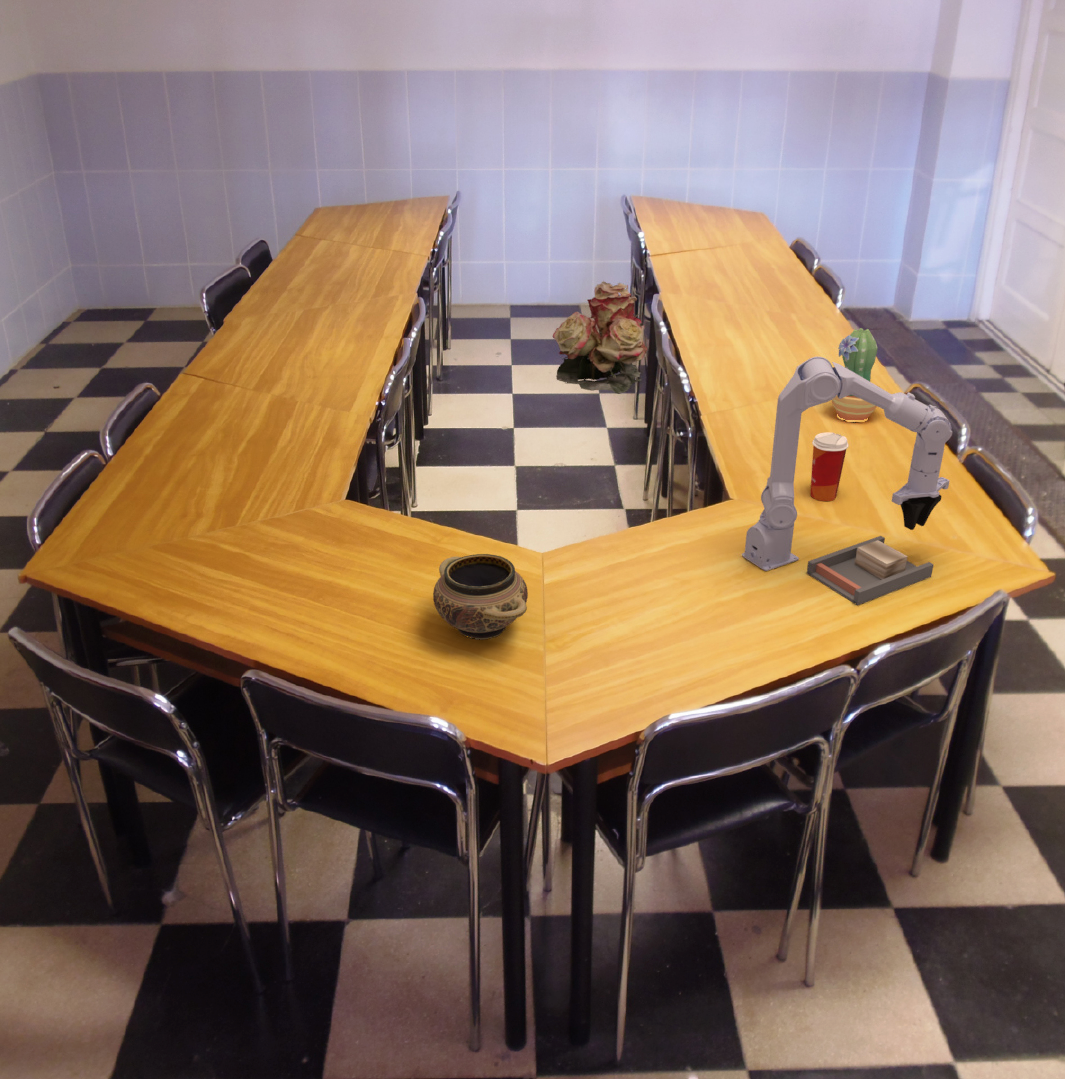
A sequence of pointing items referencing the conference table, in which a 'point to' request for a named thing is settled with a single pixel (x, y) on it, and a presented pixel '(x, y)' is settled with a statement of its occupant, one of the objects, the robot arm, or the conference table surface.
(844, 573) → the bay
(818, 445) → the coffee cup
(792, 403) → the robot arm
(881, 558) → the tan layered slab
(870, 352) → the potted cactus
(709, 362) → the conference table surface
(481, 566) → the ceramic bowl
